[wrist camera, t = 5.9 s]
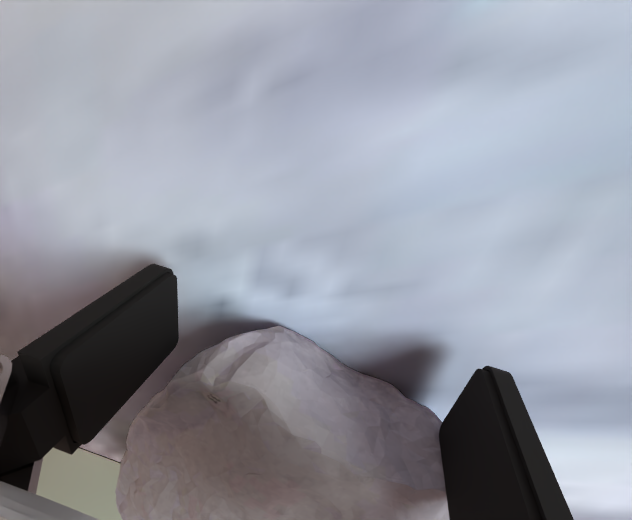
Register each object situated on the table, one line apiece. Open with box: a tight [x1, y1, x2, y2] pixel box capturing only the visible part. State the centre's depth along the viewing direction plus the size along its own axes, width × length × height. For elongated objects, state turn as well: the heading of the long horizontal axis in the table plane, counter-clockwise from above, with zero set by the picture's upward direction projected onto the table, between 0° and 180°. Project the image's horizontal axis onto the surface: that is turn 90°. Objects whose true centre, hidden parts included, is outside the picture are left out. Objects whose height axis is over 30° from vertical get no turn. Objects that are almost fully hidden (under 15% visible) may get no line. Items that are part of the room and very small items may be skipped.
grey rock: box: [115, 326, 450, 520], centre depth 12 cm, size 12×5×10 cm
